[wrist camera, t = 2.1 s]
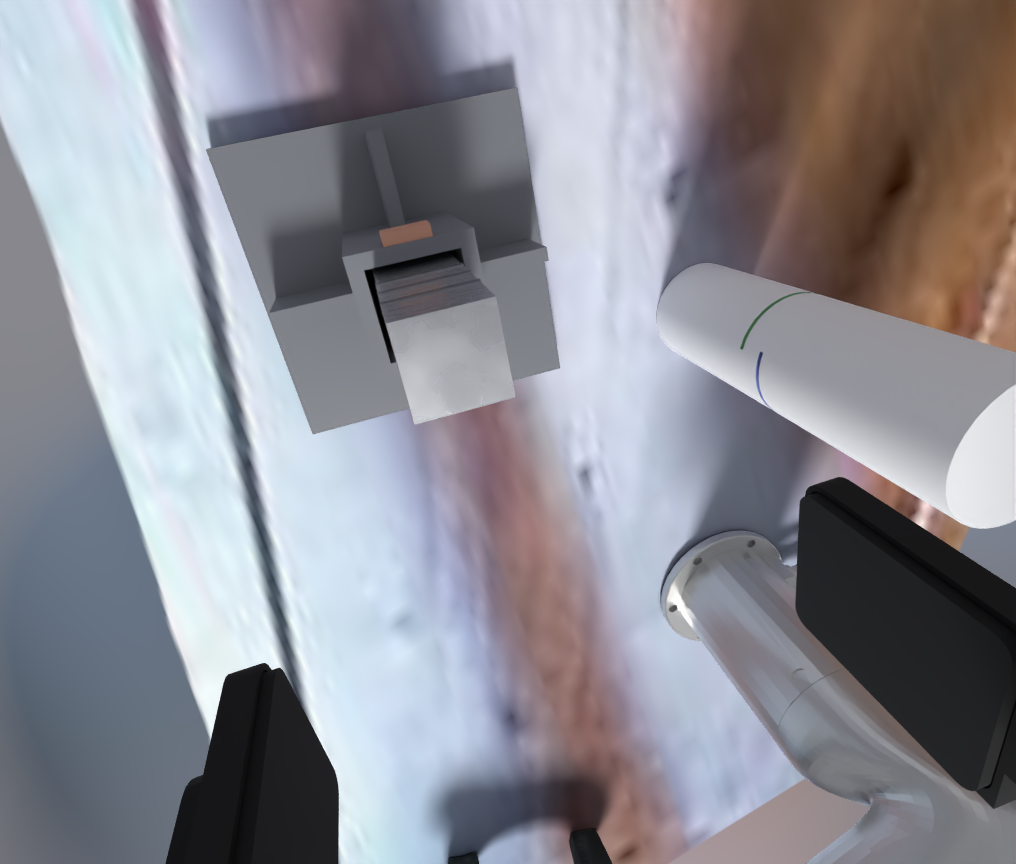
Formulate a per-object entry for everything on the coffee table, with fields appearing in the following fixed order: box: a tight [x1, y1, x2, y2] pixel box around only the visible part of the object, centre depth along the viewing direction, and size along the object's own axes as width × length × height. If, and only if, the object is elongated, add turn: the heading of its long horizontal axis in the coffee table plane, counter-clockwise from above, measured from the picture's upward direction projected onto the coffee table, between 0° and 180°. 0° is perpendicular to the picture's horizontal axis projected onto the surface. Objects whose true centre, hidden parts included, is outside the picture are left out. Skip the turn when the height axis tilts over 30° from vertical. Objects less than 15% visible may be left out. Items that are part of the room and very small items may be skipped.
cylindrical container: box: [656, 263, 1016, 529], centre depth 35 cm, size 7×7×25 cm
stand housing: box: [206, 88, 560, 434], centre depth 35 cm, size 18×18×11 cm
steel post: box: [372, 251, 515, 424], centre depth 30 cm, size 4×4×18 cm
